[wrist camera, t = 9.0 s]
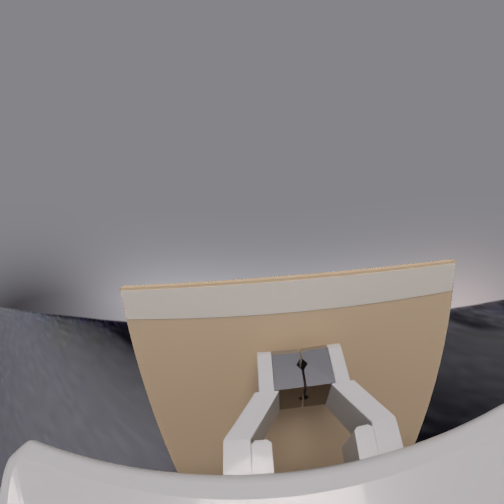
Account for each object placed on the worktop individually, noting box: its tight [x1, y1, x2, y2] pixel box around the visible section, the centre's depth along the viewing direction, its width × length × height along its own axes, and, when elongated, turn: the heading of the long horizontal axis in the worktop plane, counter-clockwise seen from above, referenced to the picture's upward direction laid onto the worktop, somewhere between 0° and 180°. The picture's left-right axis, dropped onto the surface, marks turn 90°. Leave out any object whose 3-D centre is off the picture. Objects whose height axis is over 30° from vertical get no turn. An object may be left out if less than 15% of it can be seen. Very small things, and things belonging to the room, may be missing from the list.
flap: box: [120, 259, 455, 475], centre depth 11 cm, size 14×1×12 cm, turn 91°
